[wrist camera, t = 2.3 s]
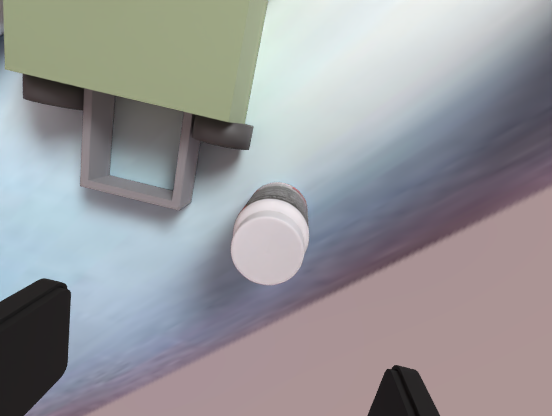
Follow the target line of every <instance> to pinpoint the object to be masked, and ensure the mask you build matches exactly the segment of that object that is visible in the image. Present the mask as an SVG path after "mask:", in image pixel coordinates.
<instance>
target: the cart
mask: <svg viewBox="0 0 552 416" xmlns="http://www.w3.org/2000/svg"><path fill="white" fill-rule="evenodd" d="M267 3H268V0H3V15H4V51H5V69H6V70H10V71H14V72H19V73H23V98H24V99H26V100H30V101H34V102H38V103H42V104H47V105H52V106H57V107H63V108H69V109H76V110H83V129H82V153H81V177H80V186H82V187H86V188H90V189H94V190H98V191H102V192H106V193H110V194H114V195H118V196H122V197H127V198H131V199H135V200H139V201H143V202H147V203H151V204H155V205H159V206H163V207H167V208H171V209H175V210H180V209H182V208H183V207H185V206H186V205H188V204H189V203H191V200H192V194H193V187H194V181H195V174H196V167H197V161H198V154H199V148H200V141H202V142H205V143H209V144H213V145H218V146H222V147H227V148H233V149H241V150H249V147H250V142H251V137H252V132H253V126H250V125H247V124H245V119H246V114H247V109H248V104H249V98H250V93H251V88H252V83H253V77H254V72H255V67H256V61H257V56H258V51H259V46H260V40H261V35H262V30H263V24H264V19H265V14H266V9H267ZM115 95H116V96H120V97H124V98H128V99H132V100H137V101H141V102H145V103H149V104H154V105H158V106H162V107H166V108H170V109H175V110H179V111H183V112H184V115H183V122H182V130H181V137H180V145H179V152H178V160H177V167H176V175H175V183H174V190H173V191H172V190H168V189H164V188H160V187H156V186H151V185H147V184H143V183H139V182H135V181H131V180H127V179H123V178H119V177H115V176H111V175H110V161H111V146H112V132H113V118H114V103H115Z"/></svg>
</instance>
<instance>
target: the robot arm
mask: <svg viewBox="0 0 552 416" xmlns="http://www.w3.org/2000/svg"><path fill="white" fill-rule="evenodd" d="M70 302H71V292H70V290H68V289H67V286H66V284H65V283H62V282H58V281H54V280H50V279H46V278H45V279H40V280H38V281H36V282H34V283H32V284H31V285H29V286H27V287H25V288H24V289H22V290H20V291H18V292H17V293H15V294H13V295H11V296H9V297H8V298H6V299H4V300H2V301H1V302H0V416H24V415H25V414H26V413H27V412H28V411H29V410H30V409H31V408H32V407H33V406H34V405H35V404H36V403H37V402H38V401H39V400H40V399H41V398H42V396H43V395H44V394H45V393H46V392H47V391H48V390H49V389H50V388H51V387H52V386H53V385H54V384H55V383H56V382H57V381H58V380H59V379H60V378H61V377H62V375H63V374H64V372H65V370H66V367H67V363H68V343H69V323H70ZM368 416H440V415H439V413H438V411H437V409H436V407H435V405H434V403H433V401H432V399H431V397H430V395H429V393H428V391H427V389H426V387H425V385H424V383H423V381H422V379H421V377H420V375H419V373H418V372H417V371H416V370H414V369H410V368H406V367H402V366H398V365H394V366H393V367H392V369H387V370H386V372H385V373H384V376H383V378H382V381H381V383H380V386H379V389H378V391H377V394H376V396H375V399H374V401H373V403H372V406H371V408H370V411H369V413H368Z"/></svg>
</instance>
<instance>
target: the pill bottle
mask: <svg viewBox="0 0 552 416" xmlns="http://www.w3.org/2000/svg"><path fill="white" fill-rule="evenodd" d="M308 243H309V227H308V209H307V204H306V201H305V199H304V197H303V195H302V194H301V193H300V192H299V191H298V190H297V189H296V188H295V187H293V186H291V185H289V184H286V183H280V182H274V183H269V184H266V185H264V186H262V187H261V188H259V189H258V190H257V191H256V192H255V193H254V194H253V196H252V197H251V199H250V200H249V201H248V203H247V204H246V206H245V207H244V208H243V210H242V211H241V212H240V213H239V215H238V217H237V219H236V221H235V224H234V229H233V239H232V242H231V256H232V260H233V262H234V265H235V266H236V268H237V269H238V271H239V272H240V273H241V274H242V275H243V276H244V277H246V278H247V279H249V280H250V281H252V282H255V283H258V284H262V285H276V284H280V283H283V282H285V281H287V280H289V279H290V278H292V277H293V276H294V275H295V274H296V273H297V271H298V270H299V268H300V266H301V264H302V261H303V257H304V254H305V252H306V250H307V247H308Z"/></svg>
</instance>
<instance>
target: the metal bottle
mask: <svg viewBox="0 0 552 416" xmlns="http://www.w3.org/2000/svg"><path fill="white" fill-rule="evenodd" d="M2 34H4V15H3V0H0V35H2Z"/></svg>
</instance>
